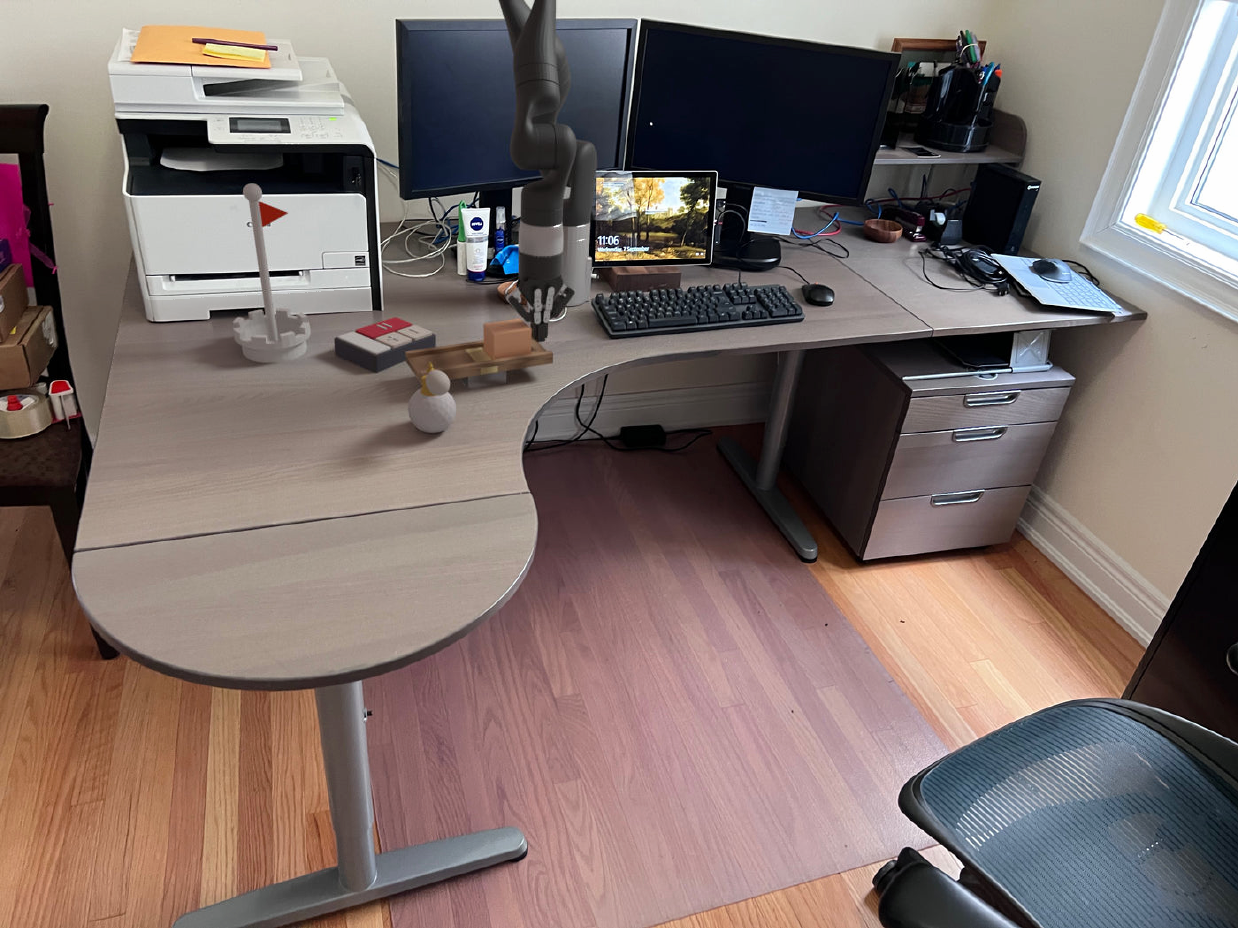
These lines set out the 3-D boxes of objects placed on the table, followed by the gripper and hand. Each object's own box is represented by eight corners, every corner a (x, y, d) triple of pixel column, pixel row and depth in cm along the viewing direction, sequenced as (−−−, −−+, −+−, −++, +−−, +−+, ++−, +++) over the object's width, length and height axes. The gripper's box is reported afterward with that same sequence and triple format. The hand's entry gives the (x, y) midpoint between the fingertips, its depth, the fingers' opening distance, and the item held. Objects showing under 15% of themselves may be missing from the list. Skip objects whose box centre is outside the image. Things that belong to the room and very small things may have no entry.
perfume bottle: (436, 412, 149) (434, 346, 143) (475, 434, 144) (474, 367, 138) (399, 427, 144) (395, 359, 138) (438, 451, 139) (435, 381, 133)
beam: (532, 357, 169) (533, 333, 167) (552, 378, 163) (553, 353, 160) (406, 377, 159) (405, 351, 156) (422, 400, 152) (421, 373, 150)
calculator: (436, 330, 169) (375, 352, 158) (436, 352, 171) (375, 374, 160) (395, 314, 174) (332, 334, 163) (396, 335, 176) (334, 356, 165)
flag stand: (237, 368, 157) (208, 196, 141) (235, 338, 167) (207, 174, 152) (316, 361, 162) (296, 193, 146) (309, 332, 172) (289, 172, 156)
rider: (519, 344, 164) (520, 318, 161) (531, 355, 161) (531, 329, 158) (483, 349, 161) (483, 323, 158) (494, 361, 157) (494, 334, 155)
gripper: (566, 236, 159) (563, 327, 168) (496, 243, 153) (496, 337, 162) (585, 250, 153) (581, 343, 163) (513, 258, 148) (512, 354, 157)
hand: (538, 340), depth 162 cm, fingers closed
